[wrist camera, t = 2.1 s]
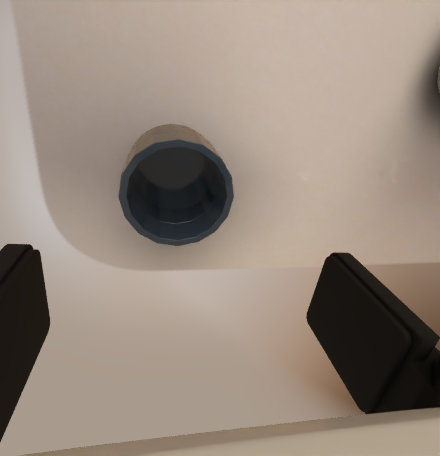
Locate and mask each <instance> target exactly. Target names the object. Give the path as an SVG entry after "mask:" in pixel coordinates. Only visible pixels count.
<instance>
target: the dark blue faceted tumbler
mask: <svg viewBox="0 0 440 456" xmlns="http://www.w3.org/2000/svg"><path fill="white" fill-rule="evenodd" d="M233 197H234V195H233V185H232V177H231V175H230V173H229V171H228V169H227V168H226V166H225V164H224V162H223V161H222V159H221V157H220V156H219V155H218V153H217V152H216V151H215V149H214V148H213V147H212V145H211V144H210V142H209V141H208V140H206V139H205V138H204V137H203V136H202V135H201V134H199V133H198V132H196V131H195V130H193V129H191V128H188V127H185V126H182V125H173V124H169V125H162V126H158V127H155V128H153V129H151V130H149V131H147V132H146V133H145V134H143V135H142V136H141V137H140V138H139V139H138V140H137V141H136V143H135V144H134V146H133V148H132V149H131V151H130V153H129V155H128V158H127V161H126V164H125V167H124V169H123V172H122V175H121V182H120V190H119V200H120V203H121V206H122V210H123V213H124V216H125V218H126V219H127V220H128V221H129V223H130V224H131V225H132V226H133V227H134V228H135V230H136V231H137V232H138V233H139V234H141V235H143V236H145V237H147V238H149V239H151V240H152V241H154V242H156V243H160V244H168V245H175V246H180V245H185V244H190V243H195V242H199V241H200V240H202V239H204V238H205V237H207V236H209V235H210V234H212V233H214V232H215V231H216V230H217V229H218V228H219V226H220V225H221V224H222V223H223V221H224V220H225V219H226V218H227V216H228V214H229V211H230V207H231V204H232V201H233Z"/></svg>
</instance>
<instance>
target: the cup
mask: <svg viewBox="0 0 440 456" xmlns="http://www.w3.org/2000/svg"><path fill="white" fill-rule="evenodd" d="M437 83H438V90H439V94H440V66H439V69H438V76H437Z"/></svg>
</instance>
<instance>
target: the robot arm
mask: <svg viewBox="0 0 440 456" xmlns="http://www.w3.org/2000/svg"><path fill="white" fill-rule="evenodd" d="M307 322H308V324H309V326H310V327H311V329H312V331H313V332H314V334H315V336H316V337H317V339H318V341H319V342H320V344H321V346H322V347H323V349H324V351H325V352H326V354H327V356H328V358H329V359H330V361H331V363H332V364H333V366H334V368H335V369H336V371H337V372H338V374H339V375H340V378H341V379H342V381H343V382H344V384H345V386H346V387H347V389H348V391H349V393H350V394H351V396H352V398H353V399H354V401H355V402H356V404H357V406H358V407H359V409H360V410H361V411H363V412H365V413H366V415H357V416H347V417H338V418H329V419H319V420H311V421H302V422H293V423H284V424H275V425H267V426H257V427H249V428H240V429H232V430H222V431H214V432H205V433H196V434H188V435H179V436H171V437H163V438H154V439H146V440H138V441H129V442H121V443H112V444H104V445H96V446H88V447H79V448H71V449H64V450H57V451H49V452H42V453H35V454H28V455H20V456H440V351H439V350H438V349H437V348H435V345H436V344H437V342H438V340H439V339H440V337H439V336H438V335H437V334H436V333H435V332H434V331H433V330H432V329H430V328H429V327H428V326H427V325H426V324H425V323H424V322H423V321H422V320H421V319H420V318H419V317H418V316H417V315H415V314H414V313H413V312H412V311H411V310H410V309H409V308H408V307H407V306H406V305H405V304H404V303H403V302H402V301H400V300H399V299H398V298H397V297H396V296H395V295H394V294H393V293H392V292H391V291H390V290H389V289H388V288H387V287H385V286H384V285H383V284H382V283H381V282H380V281H379V280H378V279H377V278H376V277H375V276H374V275H373V274H372V273H370V272H369V271H368V270H367V269H366V268H365V267H364V266H363V265H362V264H361V263H360V262H359V261H358V260H357V259H355V258H354V257H353V256H352V255H351V254H350V253H332V254H331V255H330V256H329V257H327V258H326V260H325V262H324V265H323V268H322V271H321V274H320V277H319V280H318V283H317V286H316V288H315V291H314V294H313V297H312V300H311V303H310V306H309V309H308V312H307ZM49 327H50V316H49V309H48V303H47V296H46V289H45V282H44V276H43V269H42V262H41V256H40V252H39V250H33V247H32V246H31V245H29V244H28V245H27V244H26V245H25V244H7V245H5V246H4V247H3V248H2V249H1V251H0V442H1V439H2V437H3V435H4V432H5V430H6V428H7V426H8V423H9V421H10V419H11V416H12V414H13V412H14V410H15V407H16V405H17V403H18V400H19V398H20V396H21V393H22V391H23V389H24V386H25V384H26V382H27V380H28V377H29V375H30V372H31V370H32V368H33V366H34V364H35V361H36V359H37V356H38V354H39V352H40V349H41V347H42V345H43V343H44V341H45V338H46V336H47V333H48V331H49Z"/></svg>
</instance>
